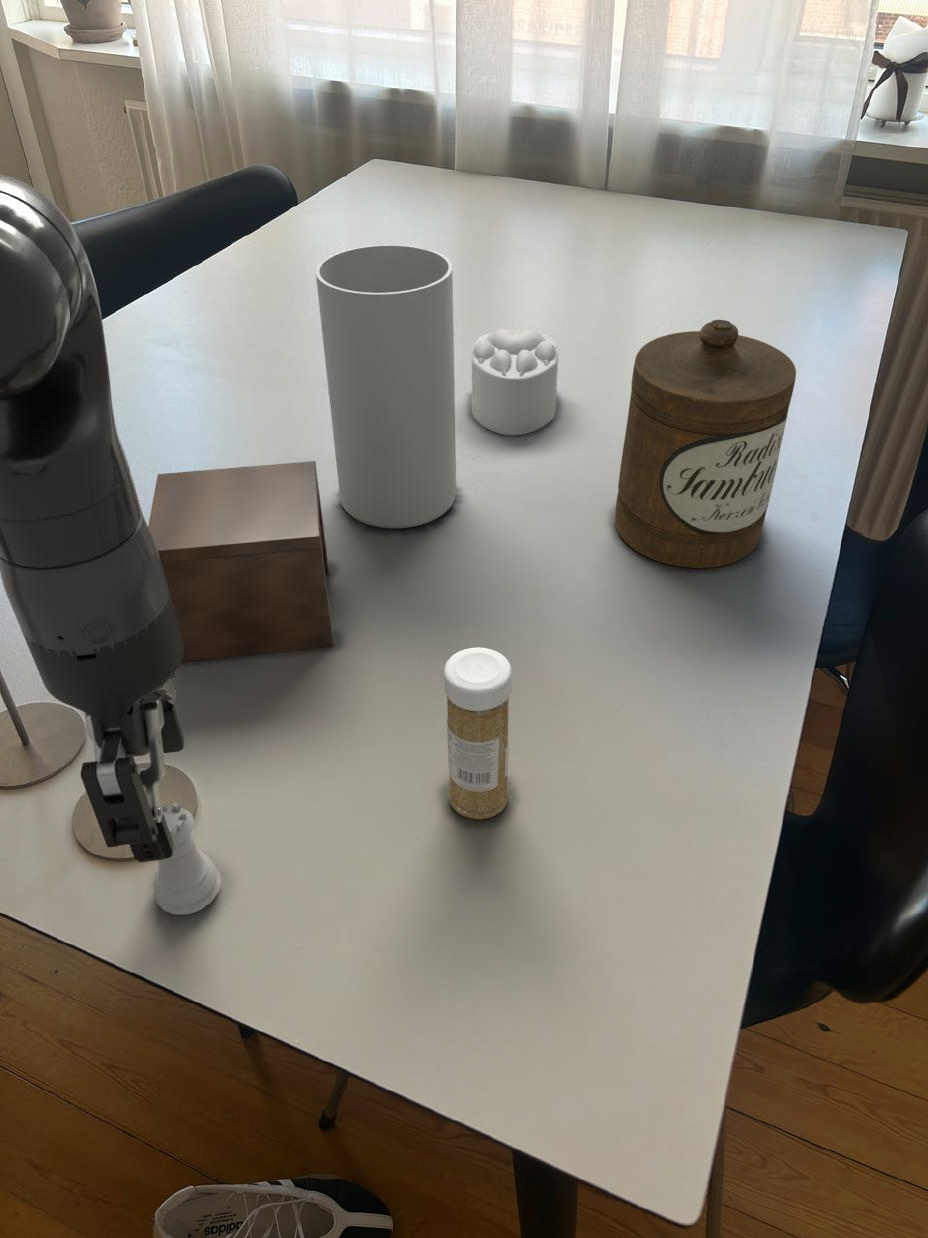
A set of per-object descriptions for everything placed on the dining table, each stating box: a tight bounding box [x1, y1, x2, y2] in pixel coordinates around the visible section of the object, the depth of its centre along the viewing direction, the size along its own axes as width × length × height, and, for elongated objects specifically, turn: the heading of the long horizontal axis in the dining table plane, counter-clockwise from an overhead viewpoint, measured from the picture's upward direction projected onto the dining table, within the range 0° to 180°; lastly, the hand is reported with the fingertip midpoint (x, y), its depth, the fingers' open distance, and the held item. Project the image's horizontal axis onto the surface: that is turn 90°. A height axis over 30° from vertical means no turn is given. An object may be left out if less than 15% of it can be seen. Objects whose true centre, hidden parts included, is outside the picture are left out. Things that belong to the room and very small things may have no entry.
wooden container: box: [614, 319, 797, 569], centre depth 93 cm, size 15×15×22 cm
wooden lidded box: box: [147, 460, 335, 663], centre depth 86 cm, size 14×12×12 cm
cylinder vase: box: [315, 244, 457, 529], centre depth 96 cm, size 12×12×25 cm
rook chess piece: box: [152, 801, 222, 915], centre depth 64 cm, size 4×4×8 cm
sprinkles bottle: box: [443, 647, 513, 820], centre depth 68 cm, size 5×5×14 cm
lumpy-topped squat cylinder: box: [471, 329, 559, 436], centre depth 117 cm, size 10×13×9 cm
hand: (162, 799), depth 60 cm, fingers open, 8 cm apart
